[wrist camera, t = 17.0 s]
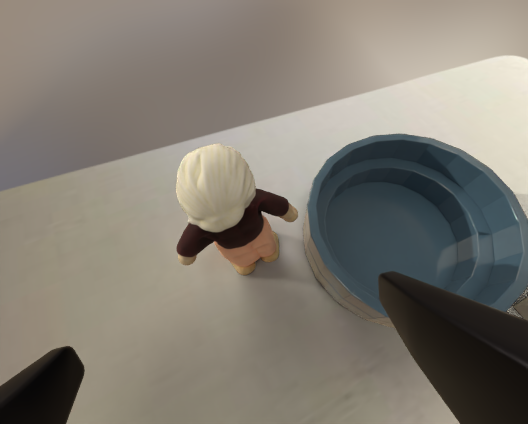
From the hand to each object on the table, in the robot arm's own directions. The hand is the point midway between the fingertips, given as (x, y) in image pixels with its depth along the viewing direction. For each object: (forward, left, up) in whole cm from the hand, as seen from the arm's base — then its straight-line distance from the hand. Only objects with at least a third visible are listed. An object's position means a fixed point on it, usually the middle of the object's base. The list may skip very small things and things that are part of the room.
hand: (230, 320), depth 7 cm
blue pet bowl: (+10, +6, -12) cm, 17 cm away
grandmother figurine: (-1, +5, -12) cm, 13 cm away
